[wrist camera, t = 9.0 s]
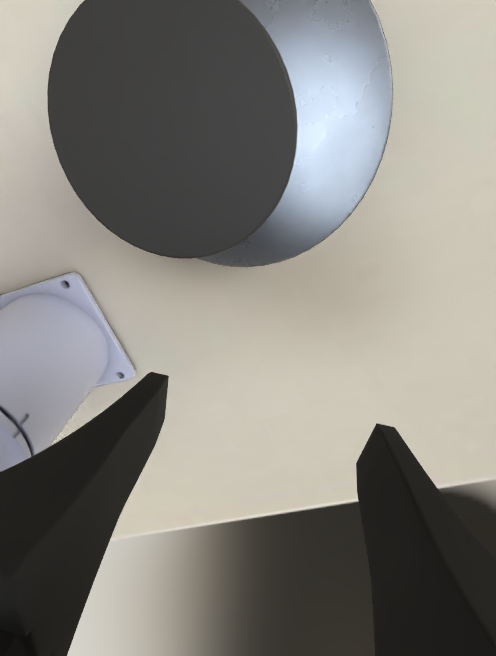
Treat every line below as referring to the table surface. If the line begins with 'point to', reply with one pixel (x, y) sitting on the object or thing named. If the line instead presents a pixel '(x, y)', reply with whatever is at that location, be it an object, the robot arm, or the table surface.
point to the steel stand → (323, 121)
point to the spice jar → (173, 121)
